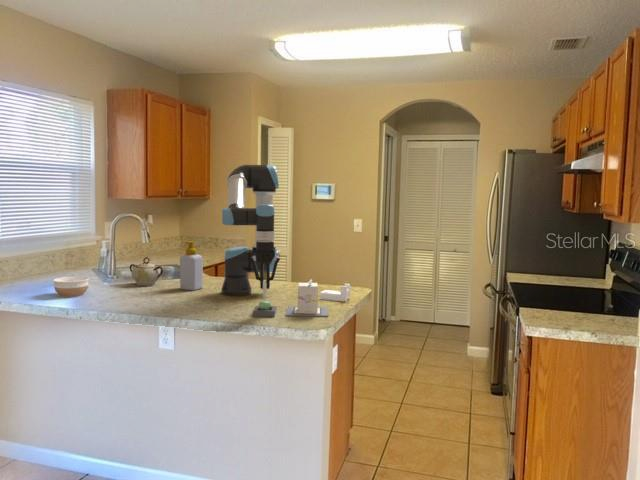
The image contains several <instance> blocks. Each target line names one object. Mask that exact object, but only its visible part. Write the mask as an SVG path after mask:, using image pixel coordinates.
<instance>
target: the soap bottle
mask: <svg viewBox="0 0 640 480" xmlns="http://www.w3.org/2000/svg"><path fill="white" fill-rule="evenodd" d="M185 244H188V248H186V249H185V254H183V255H181V256H180V258H179V277H180V278H179V279H180V280H179V284H180V285H179V288H180V290H184V291H197V290H200V289H203V287H204V286H203V285H204V283H203V275H204V274H203V266H204V265H203V255H200V254H198V251H197V249H196V248H195V246H194V245H195V241H194V240H188V241H185Z"/></svg>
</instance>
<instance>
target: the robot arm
mask: <svg viewBox="0 0 640 480" xmlns="http://www.w3.org/2000/svg"><path fill="white" fill-rule="evenodd" d="M226 184H227V187H228V196H227V197H228V198H227V207H223V208H222V211H221V221H222V224H223V225H225V226H231V227H232V226H255V243H254V244H253V245H252V247H251V248H252V249H249V247H248V246H238V247H237V246H236V247H230V248H227V249H226V250H225V252H224V280H223V283H222V286H221V291H220V292H221V295H224V296H231V297H239V296H248V295H250V294H252V286H251V283H250V279H249V273H250V274H251V273H253V274H254V276H255V280H256V281H259V283H260V284H259V285H260V289H262V298H267V297H268V290H269V289H270V284H271V282H272V281H273V280H274V279H275V275H276V271H277V268H278V263H279V262H280V260H281V257H280V256H279V250H278V249H276V245H275V242H274V240H275V206H274V205H273V203H274V202H273V201H274V197H273V196H274V195H275V194H276V193H277V192H276V191H277V190H278V189H279V188H280V186H279V176H278V170H277V167H276V166H275V165H272V164H271V165H270V164H242V165H239V166H237V167H236V168H235V169H233V170H232V171H231V172H230V173H229V175H228V177H227V182H226ZM246 189H251V190H252V193H253V195H255V207H254V208H253V207H245V203H246V202H245V200H246ZM264 273H265V274H266V277H265V278H266V279H264V276H265V274H264Z"/></svg>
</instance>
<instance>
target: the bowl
mask: <svg viewBox="0 0 640 480" xmlns="http://www.w3.org/2000/svg"><path fill="white" fill-rule="evenodd" d="M89 280H90V278H89V276H82V275H81V276H79V275H78V276H77V275H76V276H74V275H73V276H63V277H62V276H61V277H56V278H55V279H53V280H52V281H53V283H54V284H53V288H54V290H55V293H57V295H59V297H61V298H77V297H80V296H84V295H85V293H86V292H87V290H88V288H89Z"/></svg>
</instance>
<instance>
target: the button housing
mask: <svg viewBox="0 0 640 480" xmlns="http://www.w3.org/2000/svg"><path fill="white" fill-rule="evenodd" d="M276 314H277V306H276V305H271V309H270V310H259V305H255V307H254V308H253V310H252V317H253V318H254V317H255V318H257V317H258V318H259V317H260V318H275V317H276Z"/></svg>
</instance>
